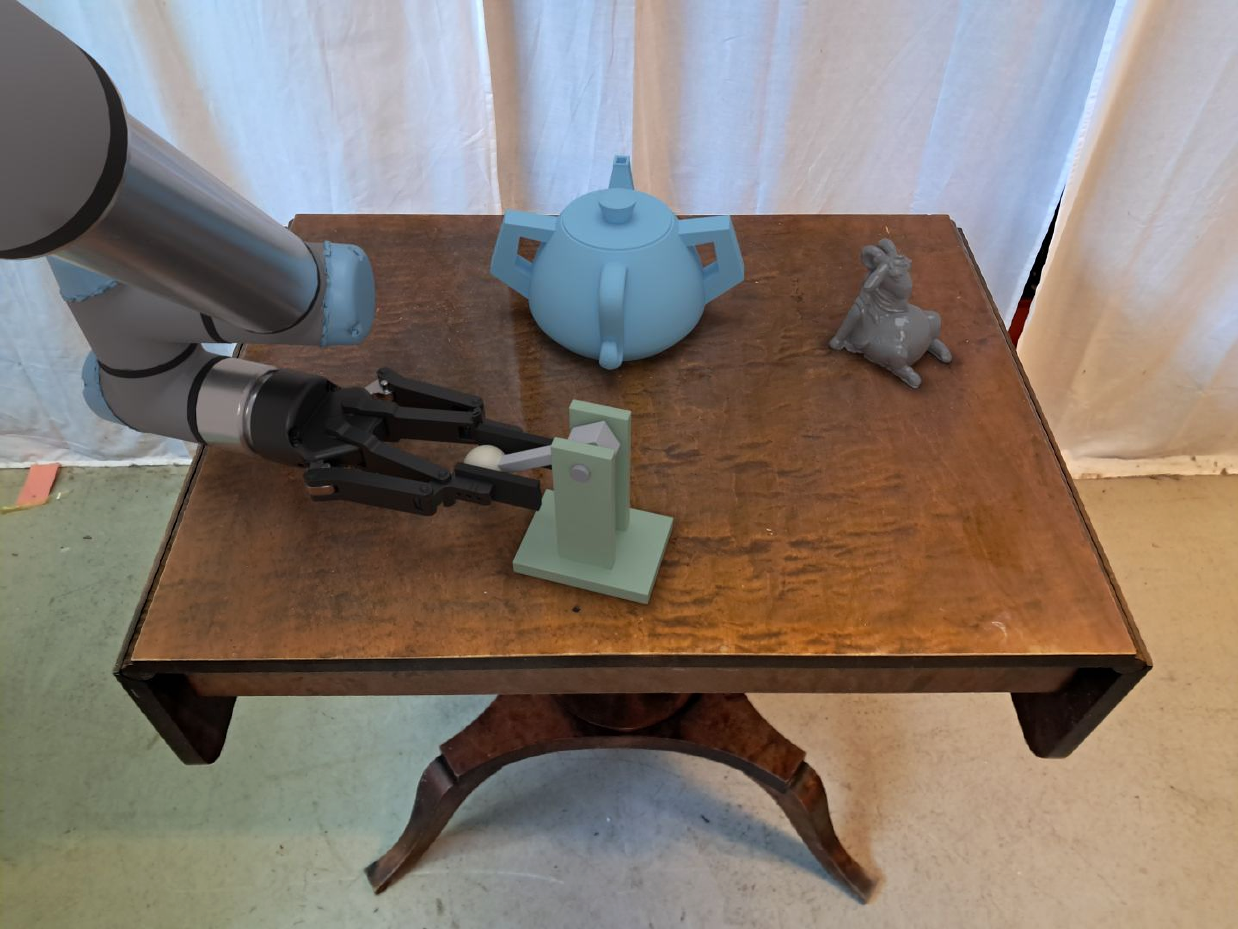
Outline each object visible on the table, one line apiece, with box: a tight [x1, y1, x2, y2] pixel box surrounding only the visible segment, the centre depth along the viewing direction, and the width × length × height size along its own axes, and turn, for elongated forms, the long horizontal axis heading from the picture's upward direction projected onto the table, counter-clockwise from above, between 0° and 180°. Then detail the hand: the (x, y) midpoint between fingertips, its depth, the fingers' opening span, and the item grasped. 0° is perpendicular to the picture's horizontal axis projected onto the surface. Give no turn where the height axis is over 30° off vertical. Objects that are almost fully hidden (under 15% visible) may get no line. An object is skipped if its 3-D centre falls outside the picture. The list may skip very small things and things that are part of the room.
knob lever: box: [463, 421, 620, 474], centre depth 70 cm, size 13×4×4 cm, turn 74°
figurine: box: [828, 237, 953, 389], centre depth 89 cm, size 8×10×11 cm
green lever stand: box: [512, 398, 674, 605], centre depth 71 cm, size 11×8×14 cm
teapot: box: [489, 154, 745, 371], centre depth 92 cm, size 19×19×14 cm
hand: (548, 475), depth 71 cm, fingers closed on knob lever, 4 cm apart
